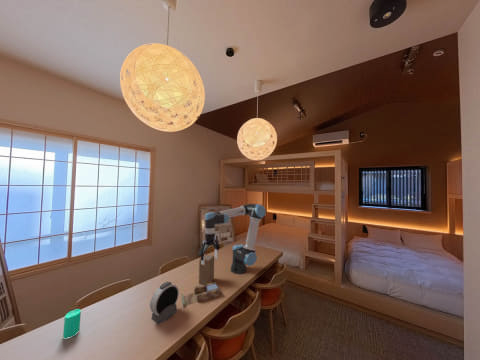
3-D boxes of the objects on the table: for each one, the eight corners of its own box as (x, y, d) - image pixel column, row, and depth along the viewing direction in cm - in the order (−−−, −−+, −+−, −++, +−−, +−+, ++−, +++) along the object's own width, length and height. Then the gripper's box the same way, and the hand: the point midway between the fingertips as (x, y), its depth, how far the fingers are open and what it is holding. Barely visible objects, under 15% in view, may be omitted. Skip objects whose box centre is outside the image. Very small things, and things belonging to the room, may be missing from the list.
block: (215, 289, 122) (215, 283, 123) (218, 293, 117) (218, 288, 117) (206, 291, 119) (206, 286, 120) (208, 296, 114) (208, 290, 114)
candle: (70, 329, 87) (72, 306, 87) (82, 329, 87) (84, 305, 88) (59, 340, 81) (61, 314, 81) (72, 339, 81) (74, 314, 82)
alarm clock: (156, 327, 88) (158, 293, 90) (146, 319, 94) (148, 287, 95) (181, 309, 102) (182, 279, 103) (171, 303, 107) (172, 275, 109)
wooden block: (209, 286, 127) (210, 260, 129) (198, 284, 129) (198, 259, 131) (214, 279, 137) (214, 255, 139) (203, 278, 139) (203, 254, 141)
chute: (215, 288, 125) (215, 281, 125) (219, 296, 115) (220, 289, 115) (181, 297, 114) (181, 290, 114) (183, 307, 104) (183, 299, 104)
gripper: (217, 229, 137) (217, 254, 135) (193, 235, 117) (193, 265, 115) (224, 230, 132) (224, 256, 131) (200, 237, 112) (200, 268, 111)
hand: (209, 261), depth 123 cm, fingers open, 13 cm apart
